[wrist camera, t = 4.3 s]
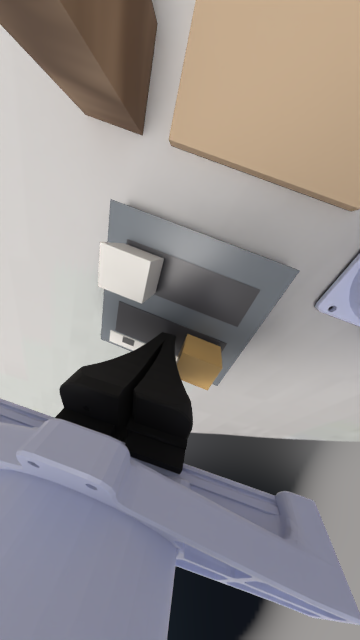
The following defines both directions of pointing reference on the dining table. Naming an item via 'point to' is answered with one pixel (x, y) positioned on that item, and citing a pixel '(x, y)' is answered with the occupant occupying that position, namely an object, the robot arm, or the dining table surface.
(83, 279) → the dining table surface
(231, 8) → the mat
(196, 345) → the switch tab
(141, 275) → the switch tab
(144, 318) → the switch panel
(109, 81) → the block
